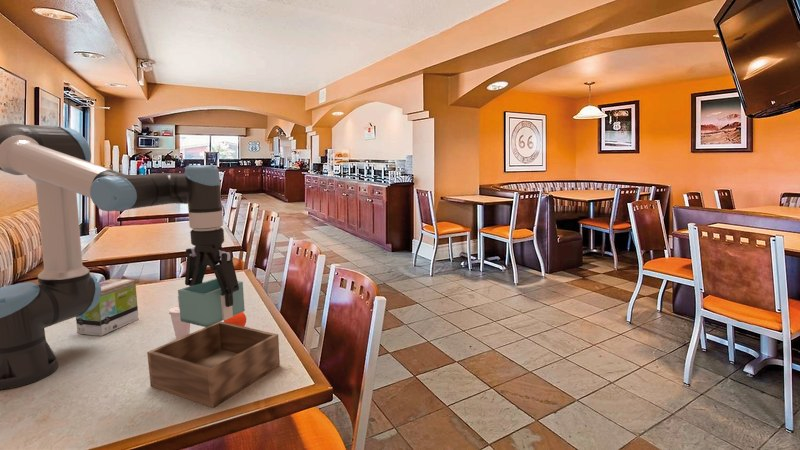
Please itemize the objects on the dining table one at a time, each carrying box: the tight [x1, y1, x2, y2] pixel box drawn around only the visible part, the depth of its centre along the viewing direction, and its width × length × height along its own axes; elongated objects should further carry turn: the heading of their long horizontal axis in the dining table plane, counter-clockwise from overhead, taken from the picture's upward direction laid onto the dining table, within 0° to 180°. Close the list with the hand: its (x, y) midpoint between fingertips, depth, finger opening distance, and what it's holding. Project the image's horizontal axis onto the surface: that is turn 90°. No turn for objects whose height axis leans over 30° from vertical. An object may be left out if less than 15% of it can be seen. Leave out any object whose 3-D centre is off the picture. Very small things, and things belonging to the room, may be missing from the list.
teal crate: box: [177, 277, 246, 328], centre depth 108 cm, size 12×9×8 cm
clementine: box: [223, 312, 247, 327], centre depth 141 cm, size 8×7×7 cm
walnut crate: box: [146, 321, 281, 409], centre depth 111 cm, size 22×22×9 cm
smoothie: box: [168, 296, 191, 340], centre depth 134 cm, size 6×6×14 cm
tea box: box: [75, 278, 139, 337], centre depth 143 cm, size 15×10×15 cm
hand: (213, 315), depth 109 cm, fingers closed on teal crate, 9 cm apart
